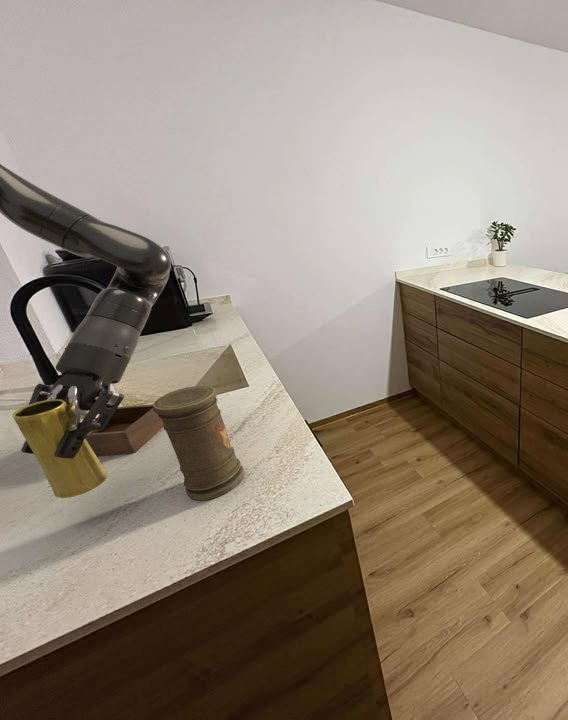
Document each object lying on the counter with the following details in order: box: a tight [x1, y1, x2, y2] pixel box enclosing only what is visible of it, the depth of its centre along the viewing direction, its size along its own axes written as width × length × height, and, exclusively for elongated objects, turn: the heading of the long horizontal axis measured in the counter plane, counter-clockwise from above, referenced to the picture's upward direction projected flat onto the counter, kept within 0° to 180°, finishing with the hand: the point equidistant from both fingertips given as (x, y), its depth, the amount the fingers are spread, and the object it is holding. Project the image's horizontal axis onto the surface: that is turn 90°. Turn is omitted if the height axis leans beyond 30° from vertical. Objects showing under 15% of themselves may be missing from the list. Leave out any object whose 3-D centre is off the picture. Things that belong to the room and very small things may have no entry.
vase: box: [12, 399, 109, 499], centre depth 57 cm, size 6×6×14 cm
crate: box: [85, 403, 164, 457], centre depth 80 cm, size 12×12×5 cm
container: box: [152, 385, 245, 501], centre depth 65 cm, size 9×9×18 cm
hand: (47, 455), depth 55 cm, fingers closed on vase, 5 cm apart
